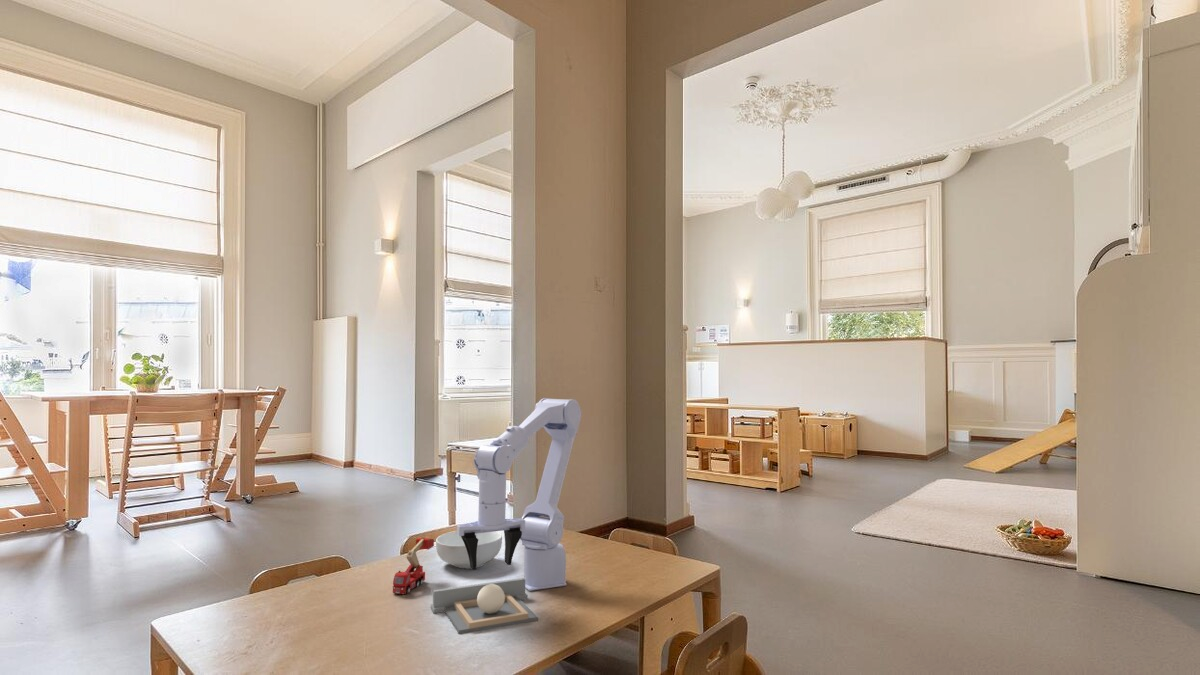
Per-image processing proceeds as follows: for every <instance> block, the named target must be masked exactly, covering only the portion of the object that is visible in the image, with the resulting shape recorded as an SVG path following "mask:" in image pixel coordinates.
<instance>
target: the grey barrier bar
mask: <svg viewBox="0 0 1200 675" xmlns="http://www.w3.org/2000/svg"><path fill="white" fill-rule="evenodd" d="M525 580H526V579H525V578H524V577H520V578H512V579H511V578H510V579H505V580H499V581H490V582H482V583H475V584H468V585H462V586H456V587H455V586H454V587H448V588H440V589H433V590H432V603H431V604H430V610H431V611H432V613H433V614H438V613H445V612H444V609H446V608H453V607H454V602H460V601H467V600H474V599H477V596H478V593H479V591H480V590H481V589H482V588H483V587H484V586H486V585H488V584H495V585H498V586H499V587H501V589H502V590H503V592H504V595H507V594H510V595H511V596H512V597H513V598H519V599H520V600H521V601H522V600H528V598H529V597H528V594H527V593H526V588H525Z"/></svg>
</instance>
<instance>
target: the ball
mask: <svg viewBox="0 0 1200 675" xmlns="http://www.w3.org/2000/svg"><path fill="white" fill-rule="evenodd" d="M504 601H505V595H504V592H503V590H502V589H501V587H499V586H498V585H495V584H488V585H486V586H484V587H483V588H482V589H481V590H480V591H479V593H478V596H477V604H478V606H479V608H480V609H481V610H482V611H483V612H485V613H488V614H492V613H496V612H497V611H499V610H500V609H501V608H502V606H503V604H504Z"/></svg>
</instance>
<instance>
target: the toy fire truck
mask: <svg viewBox="0 0 1200 675" xmlns="http://www.w3.org/2000/svg"><path fill="white" fill-rule="evenodd" d="M433 547H435V539H434V538H426V537H425V538H424V537H422V538H421V537H420V538H416V539H415V545H414V546H413V548H412V549H409V550H408V551H407V555H406V559H407V561H408V563H409V565H408V567H407V568H406V569H405V571H401V570H398V571H397V572H396V573H395V574H394V576H393V581H392V582H393V583H392V584H393V585H392V593H393V594H397V595H405V594H410V592H411V590H412V589H414V588H415V587H416V588H419V586H420V585H423V583H424V582H425V580H426V571H424V567H423V566H424V565H420V562H419V558H418V555H417V552H418V551H419V550H430V549H432V548H433Z"/></svg>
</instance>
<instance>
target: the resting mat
mask: <svg viewBox="0 0 1200 675" xmlns="http://www.w3.org/2000/svg"><path fill="white" fill-rule="evenodd" d="M443 613H445V616H448V617H447V618H448V619H450V620H449V621H450V622H452V623H451V624H452V626H453V627H454V629H455V630H456V633H457V634H458V635H460V634H465V633H470V632H476V631H477V632H478V631H482V630H488V629H494V628H499V627H505V626H511V625H516V624H517V625H518V624H524V623H528V622H529V623H530V622H534V621H538V618H539V617H538V616H537V614H535V613H534V611H532V610H531V609H530V608H529V606H527V605H526V603H525V602H523V601H522V600H520V599H519V598H513V597H512V596H511V595H510V594H507V595H505V601H504V604H503V606H502V608H501V609H500V610H499V611H497V612H496V613H492V614H488V613H485V612H483V611H482V610H481V609H480V608H479V606H478V604H477V599H474V600H467V601H460V602H454V607H453V608H446V609H444V612H443Z"/></svg>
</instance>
